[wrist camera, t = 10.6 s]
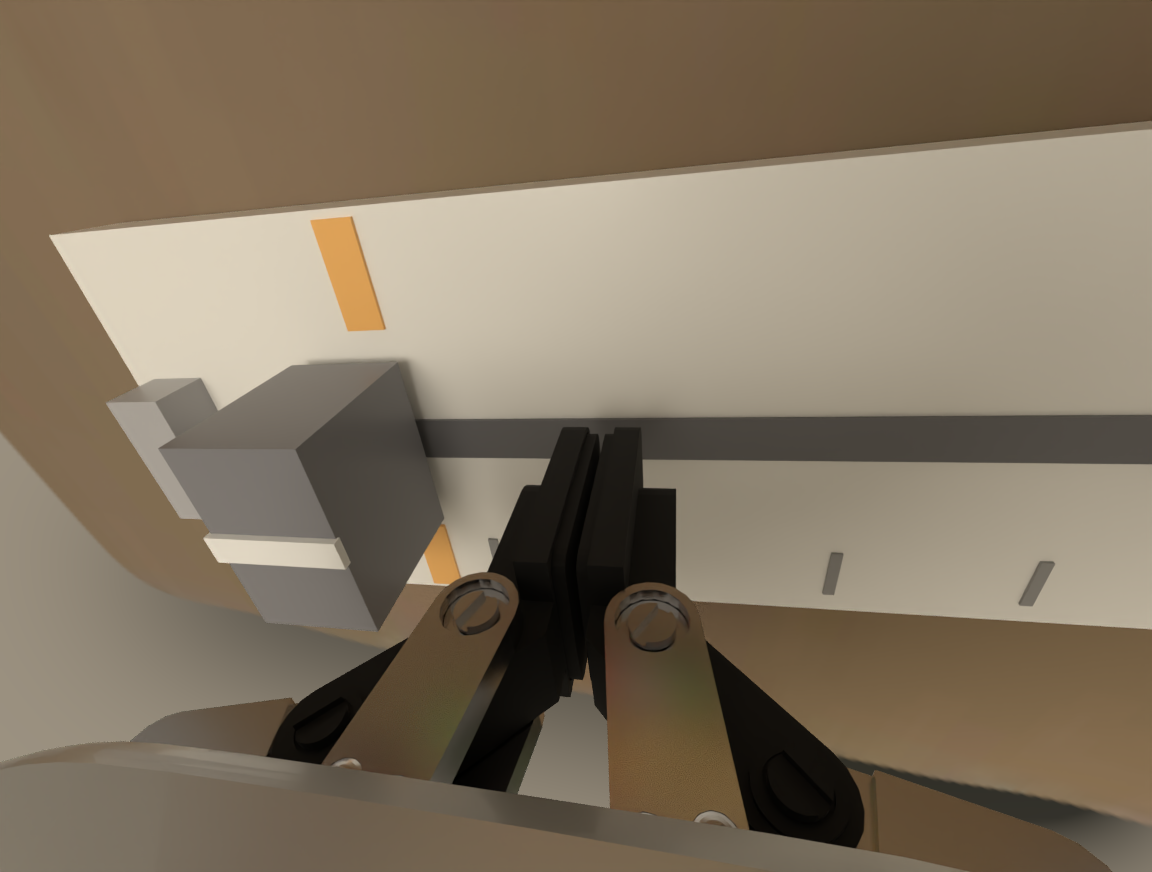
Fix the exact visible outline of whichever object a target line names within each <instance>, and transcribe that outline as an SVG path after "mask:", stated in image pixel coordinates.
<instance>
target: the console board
mask: <svg viewBox="0 0 1152 872" xmlns="http://www.w3.org/2000/svg"><path fill="white" fill-rule="evenodd" d="M49 236H50V238H51V240H52V241H53V243H54V245H55V246H56V248H57V250H58V251H59V253H60V255H61V256H62V258H63V260H64V261H65V263H66V265H67V266H68V268H69V270H70V272H71V273H72V275H73V277H74V278H75V280H76V282H77V283H78V285H79V287H80V288H81V290H82V292H83V293H84V295H85V297H86V298H87V300H88V302H89V303H90V305H91V307H92V308H93V310H94V312H95V313H96V315H97V317H98V318H99V320H100V322H101V323H102V325H103V327H104V328H105V330H106V332H107V333H108V335H109V337H110V338H111V340H112V342H113V343H114V345H115V347H116V348H117V350H118V352H119V353H120V355H121V357H122V358H123V360H124V362H125V363H126V365H127V367H128V368H129V370H130V372H131V373H132V375H133V377H134V378H135V380H136V382H137V384H138V385H139V387H137V388H135V389H133V390H131V391H129V392H126V393H124V394H122V395H120V396H118V397H116V398H114V399H112V400H110V401H108V402H106V404H107V406H108V407H109V409H110V410H111V412H112V413H113V415H114V416H115V418H116V419H117V421H118V423H119V424H120V426H121V427H122V429H123V430H124V432H125V433H126V435H127V436H128V438H129V440H130V441H131V443H132V444H133V446H134V447H135V449H136V450H137V452H138V453H139V455H140V457H141V458H142V460H143V461H144V463H145V464H146V466H147V467H148V469H149V470H150V472H151V473H152V475H153V477H154V478H155V480H156V481H157V483H158V484H159V486H160V487H161V489H162V490H163V492H164V494H165V495H166V497H167V498H168V500H169V501H170V503H171V504H172V506H173V507H174V509H175V511H176V512H177V514H178V515H179V517H180V518H182V519H201V517H200V516H199V514H198V512H197V511H196V509H195V507H194V506H193V504H192V503H191V501H190V499H189V498H188V496H187V495H186V493H185V491H184V490H183V488H182V487H181V485H180V483H179V482H178V480H177V478H176V477H175V475H174V474H173V472H172V470H171V469H170V467H169V466H168V464H167V462H166V461H165V459H164V458H163V456H162V454H161V453H160V451H159V449H158V448H160V447H161V446H163V445H164V444H166V443H168V442H169V441H171V440H172V439H174V438H176V437H177V436H179V435H180V434H182V433H184V432H185V431H187V430H188V429H190V428H192V427H193V426H195V425H196V424H198V423H200V422H201V421H203V420H205V419H206V418H208V417H209V416H211V415H213V414H214V413H216V412H217V411H219V410H221V409H222V408H224V407H225V406H227V405H229V404H230V403H232V402H233V401H235V400H237V399H238V398H240V397H241V396H243V395H245V394H246V393H248V392H249V391H251V390H253V389H254V388H256V387H257V386H259V385H261V384H262V383H264V382H265V381H267V380H269V379H270V378H272V377H273V376H275V375H277V374H278V373H280V372H282V371H283V370H285V369H286V368H288V367H290V366H291V365H314V364H348V363H381V362H398V365H399V368H400V371H401V375H402V378H403V381H404V385H405V388H406V391H407V395H408V398H409V401H410V405H411V408H412V411H413V415H414V418H415V421H416V425H417V428H418V431H419V435H420V438H421V441H422V445H423V448H424V451H425V455H426V458H427V461H428V465H429V468H430V471H431V475H432V478H433V481H434V485H435V488H436V491H437V495H438V498H439V501H440V505H441V508H442V511H443V515H444V520H443V521H442V523H441V525H440V527H439V528H438V530H437V532H436V533H435V535H434V537H433V539H432V540H431V542H430V544H429V545H428V547H427V549H426V551H425V552H424V554H423V556H422V557H421V559H420V561H419V563H418V564H417V566H416V568H415V569H414V571H413V573H412V575H411V576H410V578H409V580H408V581H407V583H409V584H425V585H442V586H448V585H450V584H451V583H452V582H454V581H455V580H457V579H459V578H462V577H464V576H467V575H469V574H474V573H480V572H487V571H488V569H489V566H490V564H491V562H492V559H493V557H494V555H495V552H496V550H497V547H498V545H499V543H500V540H501V538H502V536H503V533H504V531H505V528H506V526H507V524H508V521H509V519H510V517H511V514H512V512H513V510H514V507H515V505H516V502H517V500H518V498H519V495H520V493H521V491H522V489H523V487H524V486H526V485H541V483H542V480H543V478H544V475H545V472H546V470H547V467H548V464H549V462H550V459H551V456H552V454H553V451H554V448H555V446H556V443H557V440H558V438H559V435H560V432H561V430H562V428H563V427H588V428H589V430H590V434H598V435H599V442H600V453H601V449H602V445H603V440H604V436H605V434H614V429H615V427H641V432H642V459H643V488H671V489H676V589H678V590H679V591H681V592H682V593H684V594H686V595H687V596H688V598H689V599H690V600H691V601H701V602H718V603H734V604H750V605H766V606H783V607H799V608H815V609H831V610H848V611H864V612H880V613H896V614H913V615H929V616H945V617H961V618H978V619H994V620H1010V621H1026V622H1042V623H1059V624H1075V625H1091V626H1107V627H1124V628H1140V629H1152V121H1145V122H1135V123H1125V124H1115V125H1105V126H1095V127H1085V128H1074V129H1064V130H1054V131H1044V132H1034V133H1024V134H1014V135H1004V136H994V137H984V138H973V139H963V140H953V141H943V142H933V143H923V144H913V145H903V146H893V147H882V148H872V149H862V150H852V151H842V152H832V153H822V154H812V155H802V156H792V157H781V158H771V159H761V160H751V161H741V162H731V163H721V164H711V165H701V166H691V167H680V168H670V169H660V170H650V171H640V172H630V173H620V174H610V175H600V176H590V177H579V178H569V179H559V180H549V181H539V182H529V183H519V184H509V185H499V186H488V187H478V188H468V189H458V190H448V191H438V192H428V193H418V194H408V195H398V196H387V197H377V198H367V199H357V200H347V201H337V202H327V203H317V204H307V205H297V206H286V207H276V208H266V209H256V210H246V211H236V212H226V213H216V214H206V215H195V216H185V217H175V218H165V219H155V220H145V221H135V222H125V223H118V224H112V225H106V226H100V227H95V228H89V229H83V230H77V231H71V232H66V233H60V234H54V235H49Z"/></svg>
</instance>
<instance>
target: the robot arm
mask: <svg viewBox="0 0 1152 872" xmlns="http://www.w3.org/2000/svg"><path fill="white" fill-rule="evenodd" d="M587 657H588V664H589V671H590V678H591V681H592V688H593V695H594V703H595V706H596V707H597V709H598V710H599V711H600V712H601V714H602V715H603V716H604V718H605V719H606V720H607V727H608V759H609V791H610V808H604V807H597V806H590V805H584V804H578V803H571V802H565V801H558V800H552V799H545V798H539V797H532V796H526V795H518V791H519V788H520V786H521V783H522V780H523V778H524V775H525V772H526V770H527V767H528V764H529V762H530V759H531V756H532V753H533V751H534V748H535V746H536V743H537V740H538V737H539V735H540V732H541V729H542V726H543V721H544V717H545V714H544V712H545V711H546V710H547V709H549V708H550V707H551V706H553V705H554V704H556V703H557V702H558V701H559V698H560V696H564V697H571V692H572V686H573V681H574V679H579V680H583V678H584V674H585V669H586V663H587ZM0 872H1112V871H1111V870H1110V869H1109V867H1108V866H1107V865H1105V864H1104V863H1103V862H1102V861H1100V860H1099V859H1097V858H1096V857H1095V856H1094V855H1093V854H1091V853H1090V852H1089V851H1087V850H1086V849H1085V848H1084V847H1082V846H1081V845H1080V844H1078V843H1076V842H1074V841H1072V840H1070V839H1068V838H1066V837H1064V836H1062V835H1060V834H1058V833H1056V832H1054V831H1052V830H1049V829H1046V828H1043V827H1040V826H1037V825H1034V824H1031V823H1028V822H1026V821H1022V820H1019V819H1017V818H1014V817H1011V816H1008V815H1005V814H1002V813H999V812H996V811H994V810H991V809H988V808H985V807H982V806H979V805H976V804H973V803H970V802H967V801H964V800H961V799H959V798H955V797H953V796H950V795H947V794H944V793H941V792H938V791H935V790H932V789H929V788H926V787H924V786H921V785H918V784H915V783H912V782H909V781H906V780H903V779H900V778H897V777H894V776H891V775H888V774H885V773H883V772H880V771H877V770H875V771H874V774H873V776H869V775H867V774H864V773H861V772H858V771H855V770H852V769H849V768H846V766H845V765H844V764H843V763H842V762H841V761H840V760H839V759H838V758H837V757H836V756H835V754H834V753H833V752H832V751H831V750H830V749H828V748H827V747H826V746H825V745H824V744H823V743H822V742H820V741H819V740H818V739H817V738H816V737H815V736H814V735H813V734H811V733H810V732H809V731H808V730H807V729H806V728H805V727H803V726H802V725H801V724H800V723H799V722H798V721H797V720H795V719H794V718H793V717H792V716H791V715H790V714H789V713H788V712H786V711H785V710H784V709H783V708H782V707H781V706H780V705H778V704H777V703H776V702H775V701H774V700H773V699H772V698H771V697H769V696H768V695H767V694H766V693H765V692H764V691H763V690H761V689H760V688H759V687H758V686H757V685H756V684H755V683H754V682H752V681H751V680H750V679H749V678H748V677H747V676H746V675H744V674H743V673H742V672H741V671H740V670H739V669H738V668H736V667H735V666H734V665H733V664H732V663H731V662H730V661H729V660H727V659H726V658H725V657H724V656H723V655H722V654H721V653H719V652H718V651H717V650H716V649H715V648H714V647H713V646H712V645H710V644H709V643H708V642H707V641H706V640H705V636H704V632H703V627H702V623H701V619H700V615H699V613H698V611H697V608H696V606H695V604H694V603H693V602H692V601H691V600H690V599H689V598H688V596H687V595H686V594H684V593H682V592H681V591H679V590H678V589H676V489H671V488H643V459H642V432H641V427H615V429H614V434H605V436H604V440H603V445H602V449H601V453H600V442H599V435H598V434H590V430H589V428H588V427H563V428H562V430H561V432H560V435H559V438H558V440H557V443H556V446H555V448H554V451H553V454H552V456H551V459H550V462H549V464H548V467H547V470H546V472H545V475H544V478H543V480H542V483H541V485H526V486H524V487H523V489H522V491H521V493H520V495H519V498H518V500H517V502H516V505H515V507H514V510H513V512H512V514H511V517H510V519H509V521H508V524H507V526H506V528H505V531H504V533H503V536H502V538H501V540H500V543H499V545H498V547H497V550H496V552H495V555H494V557H493V559H492V562H491V564H490V566H489V569H488V571H487V572H480V573H474V574H469V575H467V576H464V577H462V578H459V579H457V580H455V581H454V582H452V583H451V584H450V585H448V586H447V587H445V588H444V589H443V591H442V592H441V593H440V594H439V595H438V596H437V597H436V599H435V600H434V602H433V603H432V605H431V606H430V607H429V609H428V610H427V612H426V613H425V615H424V616H423V618H422V619H421V620H420V622H419V623H418V625H417V626H416V628H415V629H414V631H413V632H412V633H411V635H410V636H409V638H407V639H405V640H403V641H402V642H400V643H398V644H396V645H395V646H393V647H391V648H389V649H388V650H386V651H384V652H382V653H381V654H379V655H377V656H375V657H374V658H372V659H370V660H368V661H366V662H365V663H363V664H361V665H359V666H358V667H356V668H354V669H352V670H351V671H349V672H347V673H345V674H344V675H342V676H340V677H339V678H337V679H335V680H333V681H331V682H330V683H328V684H326V685H324V686H323V687H321V688H319V689H317V690H316V691H314V692H313V693H311V694H310V695H309V696H307V697H306V698H304V699H303V700H302V701H300V702H299V703H296V704H295V703H294V701H293V700H292V698H284V699H277V700H269V701H262V702H254V703H245V704H238V705H230V706H222V707H214V708H206V709H198V710H190V711H183V712H179V713H175V714H172V715H169V716H165V717H164V718H162V719H160V720H158V721H156V722H155V723H153V724H151V725H149V726H148V727H146V728H145V729H144V730H143V731H142V732H141V733H139V734H138V735H137V736H135V737H134V738H133V739H132V740H131V741H130V742H124V741H123V742H122V741H121V742H97V743H86V744H78V745H71V746H65V747H59V748H54V749H48V750H43V751H39V752H35V753H32V754H28V755H25V756H21V757H17V758H14V759H10V760H6V761H2V762H0Z"/></svg>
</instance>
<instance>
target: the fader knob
mask: <svg viewBox="0 0 1152 872" xmlns="http://www.w3.org/2000/svg"><path fill="white" fill-rule="evenodd" d="M158 449H159V451H160V453H161V454H162V456H163V458H164V459H165V461H166V462H167V464H168V466H169V467H170V469H171V470H172V472H173V474H174V475H175V477H176V478H177V480H178V482H179V483H180V485H181V487H182V488H183V490H184V491H185V493H186V495H187V496H188V498H189V499H190V501H191V503H192V504H193V506H194V507H195V509H196V511H197V512H198V514H199V516H200V517H201V519H202V520H203V522H204V524H205V525H206V527H207V528H208V530H209V532H210V533H209V534H207V535H206V536H205V537H204V538H203V539H204V540H205V542H206V544H207V545H208V547H209V548H210V550H211V551H212V553H213V555H214V556H215V558H216V559H217V561H218V562H221V563H229V564H230V565H231V567H232V569H233V570H234V572H235V574H236V575H237V577H238V578H239V580H240V582H241V583H242V585H243V586H244V588H245V590H246V591H247V593H248V595H249V596H250V598H251V599H252V601H253V603H254V604H255V606H256V607H257V609H258V611H259V612H260V614H261V615H262V617H263V619H264V620H265V622H267V623H279V624H291V625H303V626H315V627H328V628H340V629H352V630H364V631H376V632H378V631H379V629H380V628H381V626H382V624H383V622H384V621H385V619H386V617H387V616H388V614H389V612H390V610H391V609H392V607H393V605H394V604H395V602H396V600H397V598H398V597H399V595H400V593H401V592H402V590H403V588H404V586H405V585H406V583H407V581H408V580H409V578H410V576H411V575H412V573H413V571H414V569H415V568H416V566H417V564H418V563H419V561H420V559H421V557H422V556H423V554H424V552H425V551H426V549H427V547H428V545H429V544H430V542H431V540H432V539H433V537H434V535H435V533H436V532H437V530H438V528H439V527H440V525H441V523H442V521H443V520H444V515H443V511H442V508H441V505H440V501H439V498H438V495H437V491H436V488H435V485H434V481H433V478H432V475H431V471H430V468H429V465H428V461H427V458H426V455H425V451H424V448H423V445H422V441H421V438H420V435H419V431H418V428H417V425H416V421H415V418H414V415H413V411H412V408H411V405H410V401H409V398H408V395H407V391H406V388H405V385H404V381H403V378H402V375H401V371H400V368H399V365H398V362H381V363H348V364H314V365H291V366H290V367H288V368H286V369H285V370H283V371H282V372H280V373H278V374H277V375H275V376H273V377H272V378H270V379H269V380H267V381H265V382H264V383H262V384H261V385H259V386H257V387H256V388H254V389H253V390H251V391H249V392H248V393H246V394H245V395H243V396H241V397H240V398H238V399H237V400H235V401H233V402H232V403H230V404H229V405H227V406H225V407H224V408H222V409H221V410H219V411H217V412H216V413H214V414H213V415H211V416H209V417H208V418H206V419H205V420H203V421H201V422H200V423H198V424H196V425H195V426H193V427H192V428H190V429H188V430H187V431H185V432H184V433H182V434H180V435H179V436H177V437H176V438H174V439H172V440H171V441H169V442H168V443H166V444H164V445H163V446H161V447H160V448H158Z"/></svg>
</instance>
